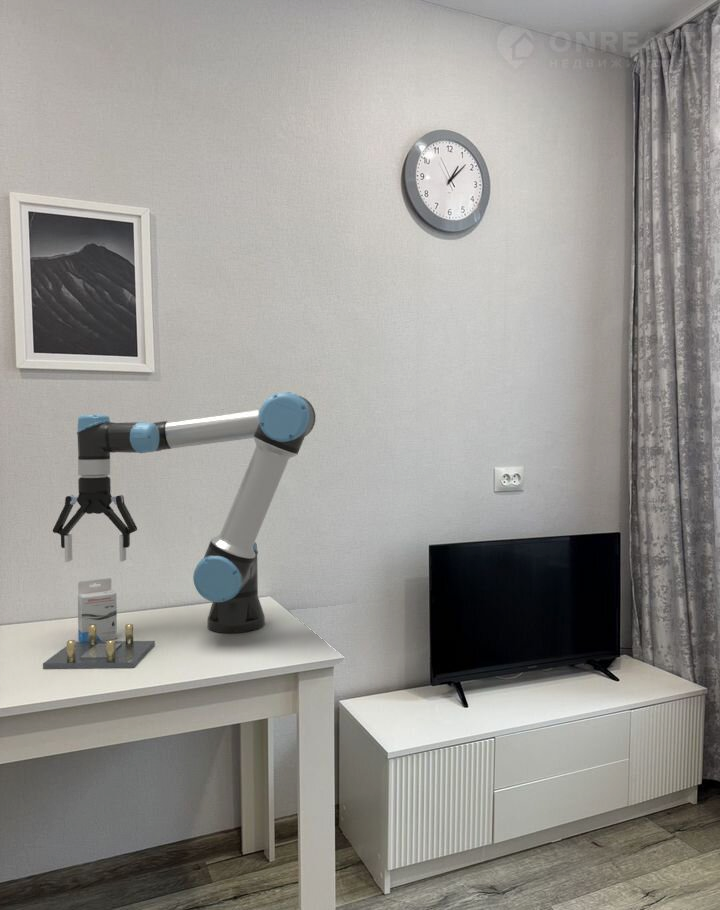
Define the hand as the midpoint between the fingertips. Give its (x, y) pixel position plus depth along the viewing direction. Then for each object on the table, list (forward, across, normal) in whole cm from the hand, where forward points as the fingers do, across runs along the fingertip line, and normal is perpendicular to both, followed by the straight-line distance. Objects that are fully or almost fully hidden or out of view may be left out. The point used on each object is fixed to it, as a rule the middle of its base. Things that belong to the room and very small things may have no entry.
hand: (95, 560), depth 174 cm
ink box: (+20, 0, 0) cm, 20 cm away
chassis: (+20, -6, +14) cm, 25 cm away
